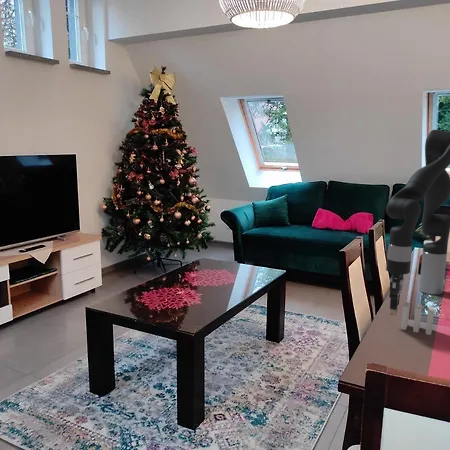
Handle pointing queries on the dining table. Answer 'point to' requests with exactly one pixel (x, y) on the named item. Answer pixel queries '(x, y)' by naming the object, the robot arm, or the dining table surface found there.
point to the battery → (420, 264)
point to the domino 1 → (393, 312)
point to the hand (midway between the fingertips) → (394, 306)
